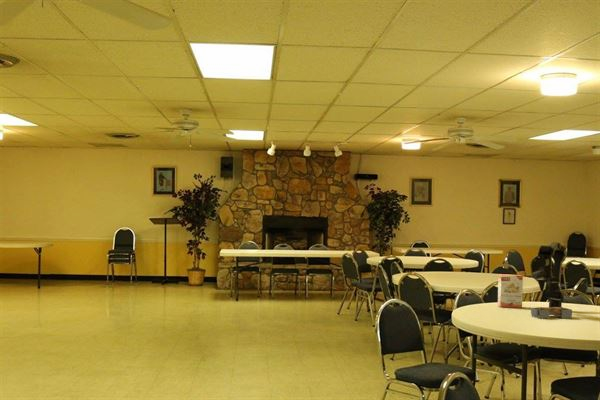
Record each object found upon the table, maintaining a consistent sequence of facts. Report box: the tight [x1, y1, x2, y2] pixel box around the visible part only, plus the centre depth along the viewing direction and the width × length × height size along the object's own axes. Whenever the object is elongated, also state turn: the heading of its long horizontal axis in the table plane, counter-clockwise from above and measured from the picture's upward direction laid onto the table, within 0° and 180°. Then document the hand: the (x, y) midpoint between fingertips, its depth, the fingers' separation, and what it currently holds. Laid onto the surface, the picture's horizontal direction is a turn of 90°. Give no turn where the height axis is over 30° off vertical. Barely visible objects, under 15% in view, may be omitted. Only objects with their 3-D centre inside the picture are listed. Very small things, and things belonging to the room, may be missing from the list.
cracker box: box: [497, 273, 524, 309], centre depth 359 cm, size 14×6×21 cm, turn 88°
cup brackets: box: [530, 307, 573, 320], centre depth 324 cm, size 22×8×5 cm, turn 98°
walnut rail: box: [536, 306, 567, 316], centre depth 324 cm, size 16×4×4 cm, turn 98°
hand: (546, 292), depth 337 cm, fingers open, 9 cm apart
